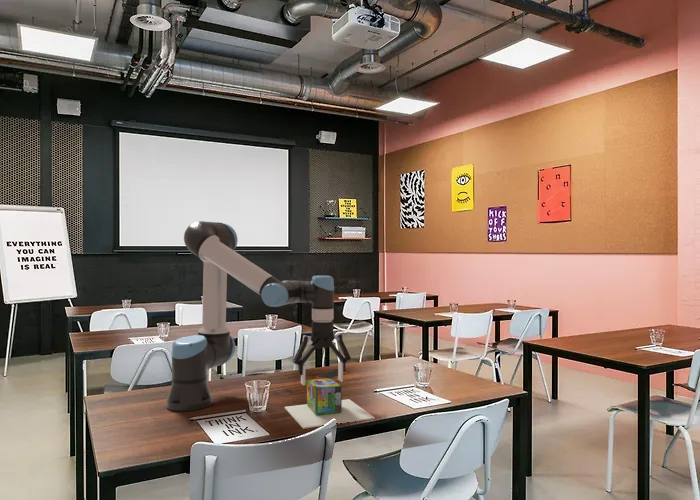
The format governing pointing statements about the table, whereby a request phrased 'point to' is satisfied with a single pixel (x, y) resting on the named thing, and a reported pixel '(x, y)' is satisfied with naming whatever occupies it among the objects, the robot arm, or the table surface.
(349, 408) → the mat
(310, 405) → the chalk box
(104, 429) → the table surface
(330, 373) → the smartphone
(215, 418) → the table surface
